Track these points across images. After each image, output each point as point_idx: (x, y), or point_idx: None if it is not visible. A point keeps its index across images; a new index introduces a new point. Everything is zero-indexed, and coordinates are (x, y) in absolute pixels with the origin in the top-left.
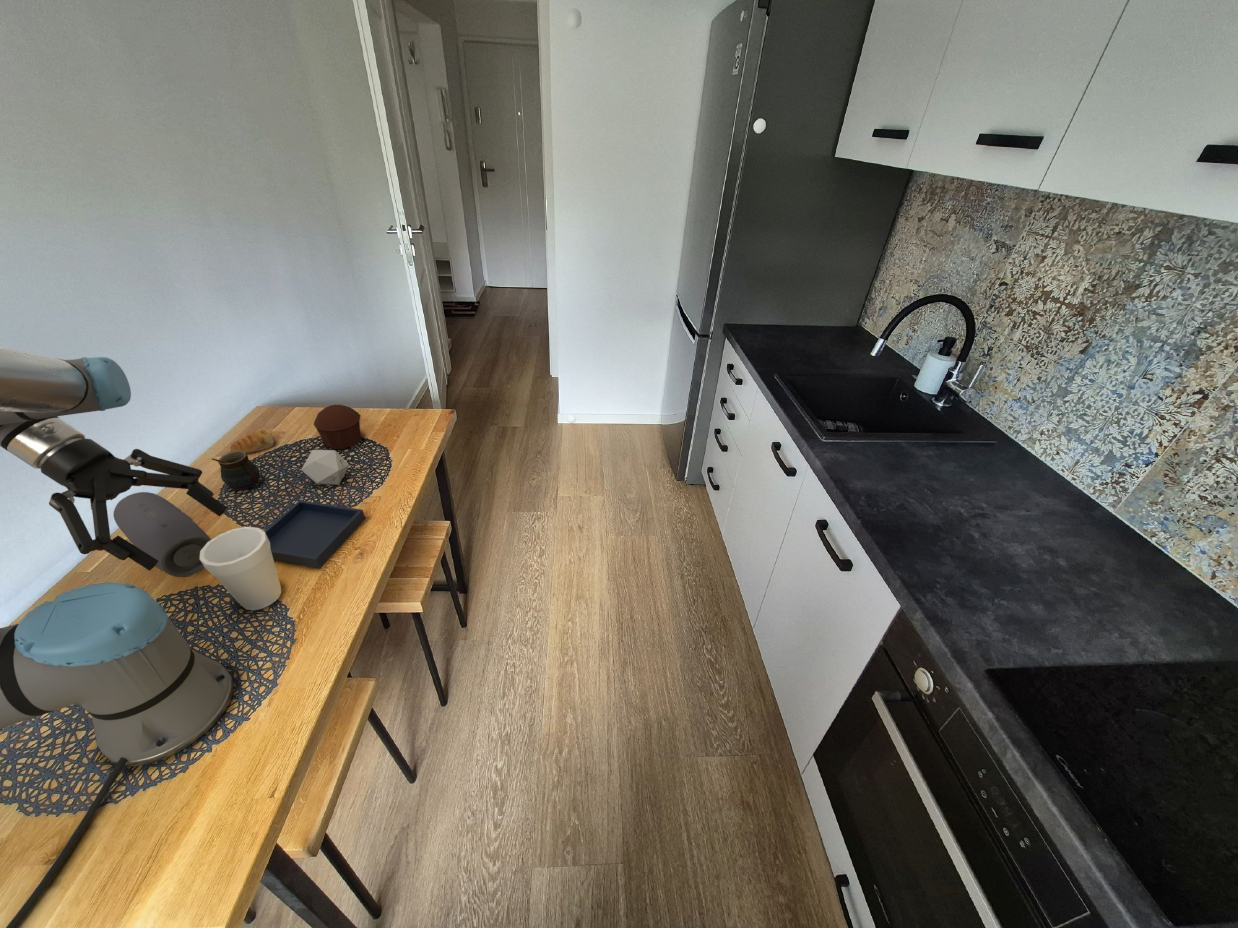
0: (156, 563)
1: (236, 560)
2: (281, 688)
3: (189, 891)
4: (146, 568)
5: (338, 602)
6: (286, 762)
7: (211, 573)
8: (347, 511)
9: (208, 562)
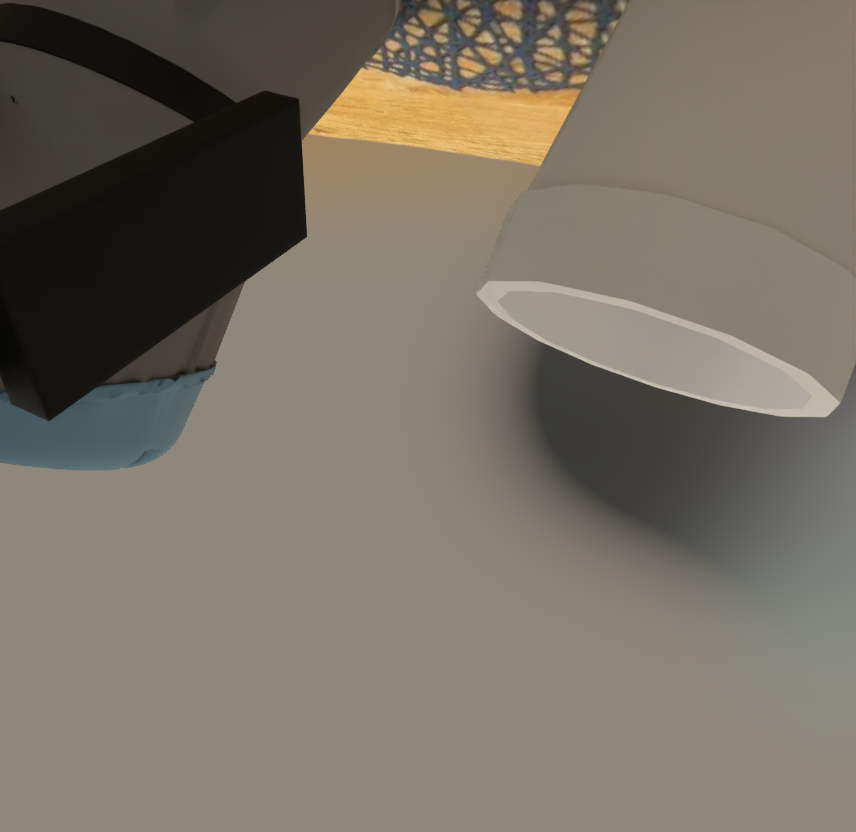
0: (301, 188)
1: (556, 345)
2: (456, 98)
3: None
4: (246, 99)
5: None
6: (360, 135)
7: (504, 221)
8: None
9: (492, 298)
